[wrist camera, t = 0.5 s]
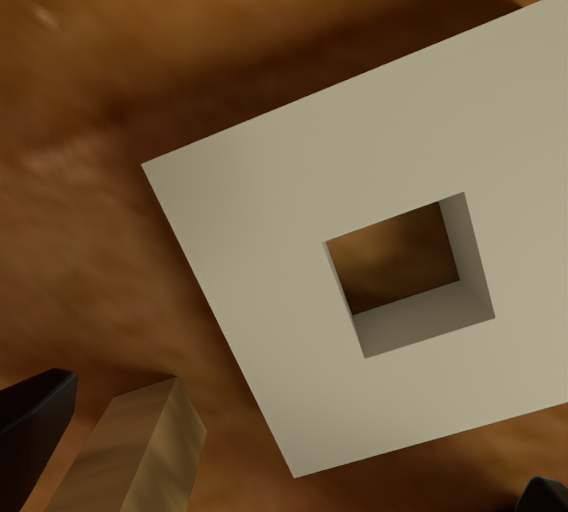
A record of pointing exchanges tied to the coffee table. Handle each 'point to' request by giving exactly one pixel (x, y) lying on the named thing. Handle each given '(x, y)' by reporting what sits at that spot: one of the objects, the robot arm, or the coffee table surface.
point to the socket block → (380, 206)
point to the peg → (137, 455)
